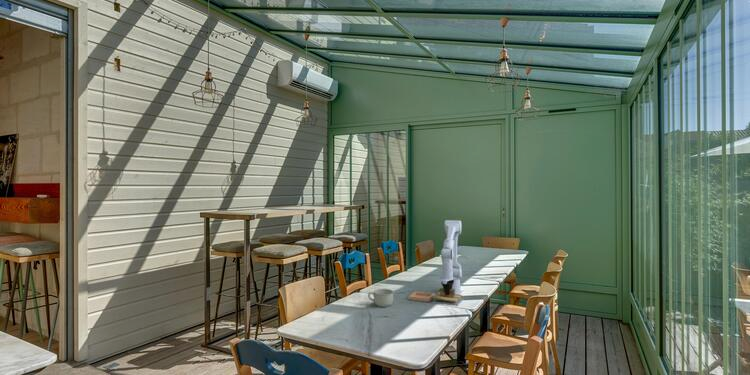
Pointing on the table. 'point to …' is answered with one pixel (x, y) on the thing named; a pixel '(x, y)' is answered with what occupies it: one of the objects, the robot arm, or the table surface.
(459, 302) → the rubber mat
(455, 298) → the oak lid
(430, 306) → the table surface
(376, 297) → the teacup
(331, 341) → the table surface
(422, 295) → the terracotta dish
